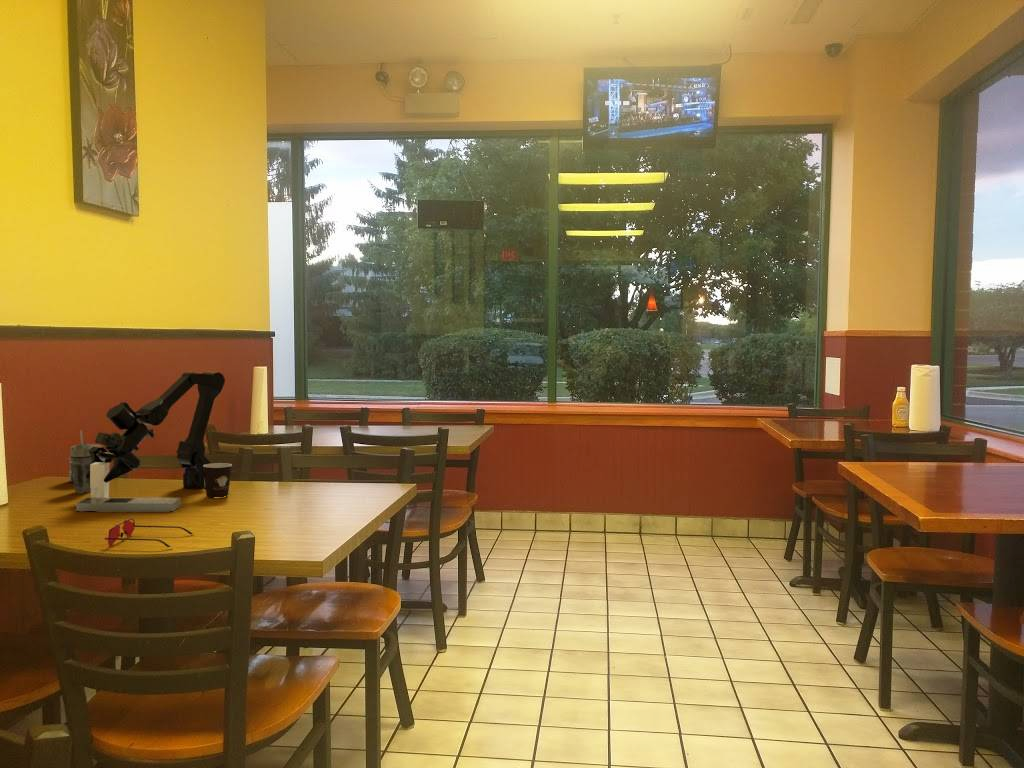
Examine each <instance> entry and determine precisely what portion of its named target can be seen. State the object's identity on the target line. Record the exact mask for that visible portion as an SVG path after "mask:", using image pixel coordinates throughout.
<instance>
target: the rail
mask: <svg viewBox="0 0 1024 768" xmlns="http://www.w3.org/2000/svg"><path fill="white" fill-rule="evenodd" d="M179 506H180V507H181V497H109V498H91V497H86V498H84V499H82V500H80V501H78V502H77V503H76V506H75V507H76V511H81V512H80V513H83V512H82V511H96V512H95V513H171V512H170V511H173V512H175V511H176V510H177V509H178V508H180V507H179ZM176 508H177V509H176ZM175 509H176V510H175ZM174 510H175V511H174ZM97 511H98V512H97Z"/></svg>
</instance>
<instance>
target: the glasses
mask: <svg viewBox="0 0 1024 768" xmlns="http://www.w3.org/2000/svg"><path fill="white" fill-rule="evenodd" d="M121 525H122V527H121ZM135 528H166V529H167V528H168V529H174V528H175V529H181V530H183V531H185V532H186V533H188V534H189V535H190V534H194V533H193V532H191V531H190V530H188V529H187V528H184V527H183V526H172V525H171V526H170V525H169V526H168V525H167V526H166V525H143V524H142V525H138V524H137V525H136V522H135V520H134V518H130V519H126V520H124V521H123V522H121V523H119V524H115V526H113V527H111V528H109V529H108V535H107V536H108V537H107V536H105V537H104V539H103V540H105V541H107V544H108V546H109V547H110V546H111V545H112V546H113V545H114V543H116V541H117V540H119V541H151V542H152V541H155V542H160V543H161V544H163V545H164V546H165V547H166V548H168V547H171V546H170V545H169V544H167V543H166V542H165V541H163V540H160V539H156V538H130V537H131V536H132V534H133V532H134V530H135ZM121 529H122V531H123V532H121ZM124 535H125V536H126V537H127V538H124ZM130 535H131V536H130ZM128 536H130V537H128ZM112 546H111V547H112Z"/></svg>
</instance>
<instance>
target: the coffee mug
mask: <svg viewBox="0 0 1024 768" xmlns="http://www.w3.org/2000/svg"><path fill="white" fill-rule="evenodd" d="M232 468H233V464H232V463H224V462H217V463H211V464H206V465H203V470H204V472H202V471H196V472H195V473H193V475H192V480H193V481H194V483H196V484H197V485H198V486H200V487H202V488H201V489H204V490H205V495H206V498H207V497H209V498H208V499H211V498H214V497H224V496H227V495H228V496H229V493H230V492H229V491H230V484H231V477H232ZM197 473H202V474H203V476H204V479H205V487H204V486H202V485H200V484H198V483H197V482H196V481H195V480H194V476H195V474H197Z"/></svg>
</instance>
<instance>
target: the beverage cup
mask: <svg viewBox="0 0 1024 768" xmlns="http://www.w3.org/2000/svg"><path fill="white" fill-rule="evenodd" d="M79 433H80V436H79V437H80V443H78V444H76V445H74V446H75V447H74V448H73V450H72V452H71V451H70V455H71V456H70V455H69V456H70V457H71V462H72V467H73V477H74V483H73V486H74V492H78V493H77V494H85V493H84V492H90V491H91V488H90V478H89V479H87V478H86V477H85V476H86V474H87V472H88V469H89V467H90V464H91V461H92V459H91V456H90V453H89V450H90V449H91V448H92V446H91V445H92V444H89V443H84V442H83V441H84V440H83V430H82V429H80V430H79ZM90 493H91V492H90Z"/></svg>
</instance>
